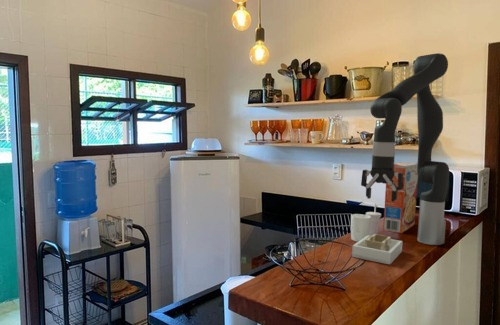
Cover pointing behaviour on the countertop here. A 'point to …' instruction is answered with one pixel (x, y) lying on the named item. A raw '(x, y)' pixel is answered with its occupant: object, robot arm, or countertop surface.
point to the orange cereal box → (401, 200)
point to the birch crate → (378, 242)
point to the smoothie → (374, 221)
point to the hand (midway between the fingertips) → (381, 199)
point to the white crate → (377, 251)
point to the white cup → (360, 226)
